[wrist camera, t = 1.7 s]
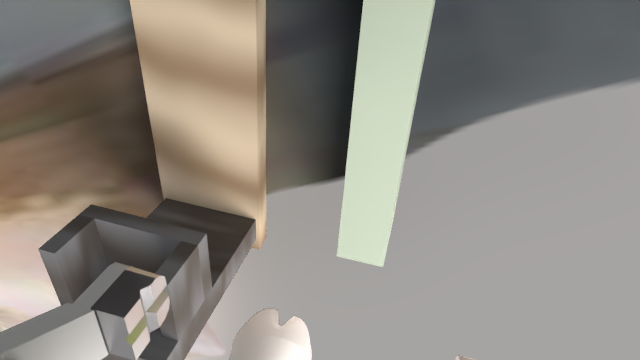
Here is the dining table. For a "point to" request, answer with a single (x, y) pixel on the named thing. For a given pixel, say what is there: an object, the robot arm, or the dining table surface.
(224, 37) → the rail stand
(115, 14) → the dining table surface
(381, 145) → the rail
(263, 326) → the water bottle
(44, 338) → the robot arm
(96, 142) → the dining table surface
